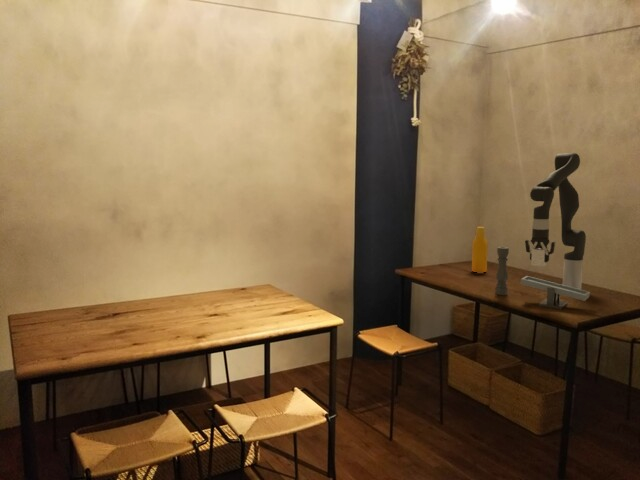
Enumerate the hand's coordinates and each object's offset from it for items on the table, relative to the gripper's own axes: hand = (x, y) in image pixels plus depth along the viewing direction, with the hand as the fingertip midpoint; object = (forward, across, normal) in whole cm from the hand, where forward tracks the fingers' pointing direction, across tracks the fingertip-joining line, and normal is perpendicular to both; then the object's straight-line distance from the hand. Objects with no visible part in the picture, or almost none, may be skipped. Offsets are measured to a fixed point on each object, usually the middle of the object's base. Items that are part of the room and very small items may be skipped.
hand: (539, 261), depth 261 cm
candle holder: (+21, +20, -7) cm, 30 cm away
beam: (+14, -7, 0) cm, 16 cm away
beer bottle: (+22, +51, -56) cm, 79 cm away
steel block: (+2, 0, 0) cm, 2 cm away
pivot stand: (+21, -7, 0) cm, 22 cm away
